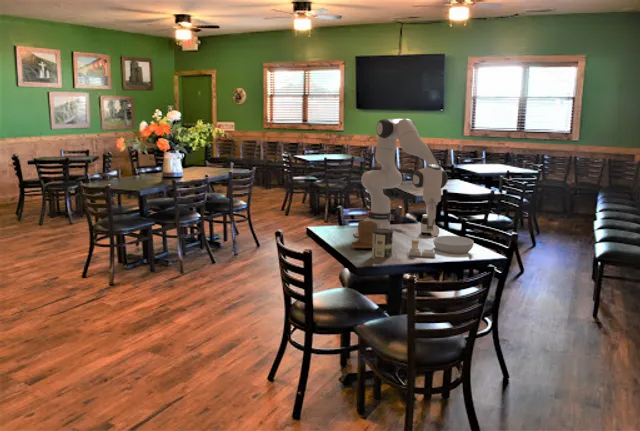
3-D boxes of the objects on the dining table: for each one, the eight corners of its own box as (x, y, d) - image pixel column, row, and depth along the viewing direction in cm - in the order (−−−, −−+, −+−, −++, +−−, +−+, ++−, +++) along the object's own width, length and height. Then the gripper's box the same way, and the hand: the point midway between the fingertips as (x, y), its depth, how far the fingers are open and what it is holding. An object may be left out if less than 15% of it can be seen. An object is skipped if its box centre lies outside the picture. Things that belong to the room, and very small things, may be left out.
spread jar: (423, 231, 347) (424, 213, 345) (441, 233, 342) (442, 215, 340) (418, 235, 336) (419, 216, 334) (436, 237, 332) (438, 218, 329)
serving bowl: (428, 247, 309) (428, 235, 307) (465, 247, 310) (466, 235, 309) (438, 257, 288) (439, 244, 287) (478, 257, 290) (479, 245, 288)
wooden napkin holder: (375, 244, 312) (376, 218, 309) (380, 250, 301) (381, 222, 298) (348, 245, 310) (349, 218, 308) (352, 250, 299) (353, 223, 296)
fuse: (410, 255, 286) (411, 241, 284) (410, 253, 289) (411, 239, 288) (418, 255, 285) (418, 241, 284) (417, 254, 289) (418, 239, 287)
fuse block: (407, 259, 283) (407, 252, 282) (407, 254, 293) (407, 247, 292) (435, 261, 281) (436, 253, 280) (434, 256, 291) (435, 248, 290)
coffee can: (389, 254, 292) (390, 228, 289) (393, 260, 282) (394, 232, 279) (370, 254, 291) (371, 228, 289) (373, 260, 281) (374, 232, 278)
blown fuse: (426, 231, 282) (427, 216, 281) (425, 229, 286) (426, 215, 284) (433, 231, 282) (434, 216, 280) (433, 229, 285) (434, 215, 284)
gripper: (439, 201, 270) (437, 229, 273) (437, 194, 290) (435, 220, 292) (426, 200, 271) (424, 228, 273) (424, 193, 290) (422, 220, 293)
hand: (430, 224), depth 283 cm, fingers closed on blown fuse, 3 cm apart
